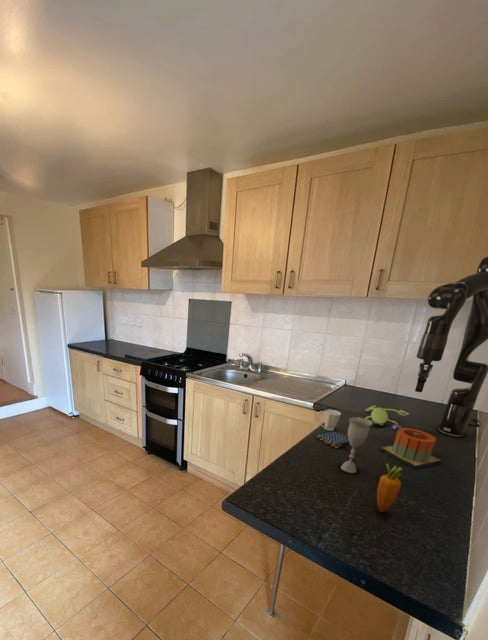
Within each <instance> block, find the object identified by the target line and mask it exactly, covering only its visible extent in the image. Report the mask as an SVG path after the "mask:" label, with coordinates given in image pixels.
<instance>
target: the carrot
mask: <svg viewBox="0 0 488 640" xmlns="http://www.w3.org/2000/svg"><path fill="white" fill-rule="evenodd" d="M385 466H386V470H387V474H383V475H381V476H380V477H379V482H378V485H377V490H376V503H377V508H378V511H379V512H380V514H381V513H385V512H386V511H388V509H389V508H390V507H391V506H392V505H393V504H394V502H395V500H396V499H397V497H398V495H399V493H400V489H401V486H402V483H401V480H400V479H399V477H401V476H402V474H401V472H402V471H403V468H402V467H400V466H399V467H398V466H397V465H394V466H393V467H392V468H390V464H389V463H385Z"/></svg>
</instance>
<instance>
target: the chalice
mask: <svg viewBox="0 0 488 640" xmlns="http://www.w3.org/2000/svg"><path fill="white" fill-rule="evenodd" d="M348 420H349V425H348V429H347V438H348V439H349V442H348V443H349V446H351V450H350V454H349V455H348V457H349V459H348V460H346V461H344V462H343V463H342V465H341V466H340V469H341V470H342V471H344V472H346V473H350V474H354V473H355V474H356V473H357V466H356V464H355V462H353V460H354V459H355V454H356V448H360V447H361V446H362V444H363V443H364V442H365V441H366V439H367V438H368V435H369V431H370V427H371V426H373V423H372V422H371V421H369V420H370V419H367V420H366V419H365V418H363V417H360V418H358V417H355V416H354V417H349V419H348Z"/></svg>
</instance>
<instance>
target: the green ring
mask: <svg viewBox="0 0 488 640" xmlns="http://www.w3.org/2000/svg"><path fill="white" fill-rule="evenodd" d="M393 441H394V442H393V445H392V446H393V448H392V450H393V451H394V452H395V453H396V454H397V455H399V456H401V457H405V458H406V459H410V460H414V461H420V462H422V461H423V462H425V461H429V459H430V456H431V455H432V453H433V450H432V451H429V452H422V451H417V450H416V451H415V450H412V449H408V447H407V448H406V447H403V446H401V445H399V444H398V443H397V442H396V441H395V440H393Z"/></svg>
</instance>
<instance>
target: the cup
mask: <svg viewBox="0 0 488 640" xmlns="http://www.w3.org/2000/svg"><path fill="white" fill-rule="evenodd" d="M320 413H322V414H323V415H324V416H323V417H324V419H323V422H324V423H323V424H324V425H323V424H322V423H321V422H320V420H319V417H318V416H319V414H320ZM341 415H342V414H341V412H340V411H339V410H335V409H329V408H328V409H324V410H320V411H319V412H317V414H316V416H315V419H316V421H317V423H318V424H319V425H320V426H321V427H322V428H323V429H324V430H326V431H328V432H331V431H333V432H335V429H336V427H337V425H338V423H339V420H340V418H341Z"/></svg>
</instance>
